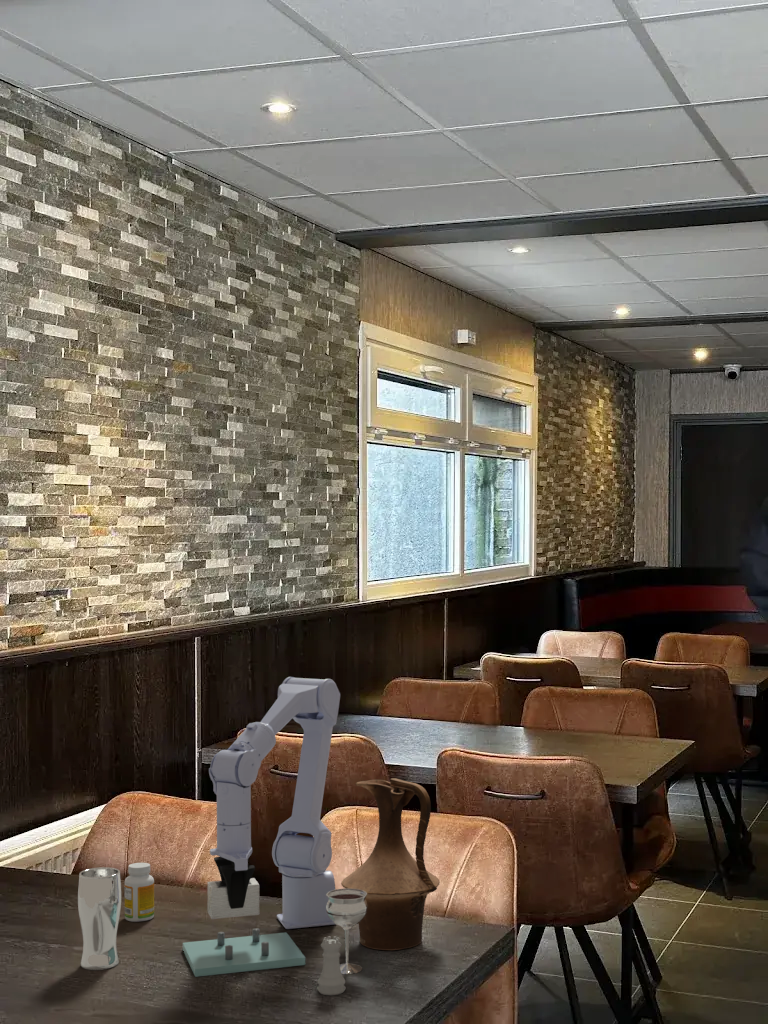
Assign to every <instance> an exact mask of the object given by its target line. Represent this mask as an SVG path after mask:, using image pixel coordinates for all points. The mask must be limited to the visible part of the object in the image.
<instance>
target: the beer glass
mask: <svg viewBox="0 0 768 1024" xmlns="http://www.w3.org/2000/svg"><path fill="white" fill-rule="evenodd" d="M78 877H79V878H78V891H77V906H78V907H77V909H78V916H79V922H80V928H81V934H82V941H83V942H82V943H83V944H82V946H83V947H82V948H83V949H82V955H81V960H80V966H81V968H82V969H84V970H89V971H103V970H109V969H112V968H114V967H116V966H118V965H119V962H120V961H119V955H118V953H119V952H118V949H117V948H118V947H117V934H118V928H119V921H120V918H121V917H120V915H121V908H122V881H121V870H120V869H118V868H115V867H109V866H107V867H106V866H103V867H101V866H100V867H92V868H87V869H84V870H82V871H80V872H79V875H78Z"/></svg>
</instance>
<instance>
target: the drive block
mask: <svg viewBox="0 0 768 1024" xmlns="http://www.w3.org/2000/svg"><path fill="white" fill-rule="evenodd" d="M207 914H208V915H209V917H210V919H211V920H215V919H226V918H227V919H228V918H238V917H249V916H251V917H252V916H258V915H260V884H259V882H258V881H257V880H256V878H255V877H251V879H250V881H249V884H248V888H247V892H246V898H245V902H244V906H243V908H235V909H231V908H230V905H229V900H228V893H227V886H226V882H225V880H224V881H221V880H215V881H213V880H212V881H207Z"/></svg>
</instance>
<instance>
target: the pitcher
mask: <svg viewBox="0 0 768 1024" xmlns="http://www.w3.org/2000/svg"><path fill="white" fill-rule="evenodd" d="M355 786H357V787H361V788H363V789H366V790H367V791H368V792H370V793H371V795H372V796H373V797H374V799H375V802H376V805H377V810H378V820H379V821H378V824H379V825H378V833H377V838H376V842H375V846H374V847H373V850H372V852H370V855H369V856H368V858H367V859H366V860H365V861H364V862H363V863H362V864H361V865H360V866H359V867H358V868H357V869H355V870H354V871H352V873H350V874H349V875H347V876H345V878H343V879H342V880H341V883H340V884H341V886H342V887H343V889H348V888H351V889H359V890H363V891H365V892H367V896H366V898H365V900H366V901H367V905H368V907H367V913H366V916H365V917H364V918H363V919H362V920H361V921H360V922H359V923H358V929H359V942H360V944H361V945H362V946H364V947H366V948H369V949H374V950H382V951H396V950H403V949H408V948H412V947H416V946H418V945H420V944H422V942H423V941H422V940H423V923H424V914H425V913H424V912H425V905H426V899H427V897H428V895H429V894H430V893H434V892H435V891H436V890H438V887H439V885H440V883H441V882H440V879H439V877H437V876H436V875H435V874H432V873H431V872H430V871H428V870H427V869H426V863H425V858H424V852H425V851H424V850H425V849H424V848H425V847H424V846H425V841H426V838H427V831H428V828H429V827H428V826H429V823H430V819H431V811H432V805H431V804H432V803H431V798H430V796H429V793H428V792H427V790H426V788H425V787H423V786H422V785H420V784H418V783H416V782H412V781H411V782H410V781H406V780H402V779H400V778H396V777H395V778H390V781H387V780H384V779H369V780H362V781H361V780H360V781H357V782H356V783H355ZM415 795H416V796H417V797H418V800H419V803H420V813H419V823H418V825H417V834H416V838H415V839H416V840H415V842H416V844H415V858H414V857H413V856H412V855H411V853H410V852H409V850H408V848H407V846H406V844H405V843H406V842H405V841H404V837H403V833H402V830H403V829H402V814H403V808H404V807H405V806H407V805H408V804H409V803H410V801H411V799H412V798H413V797H414V796H415Z"/></svg>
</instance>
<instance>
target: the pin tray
mask: <svg viewBox="0 0 768 1024" xmlns="http://www.w3.org/2000/svg"><path fill="white" fill-rule="evenodd" d="M216 933H217V936H216V939H207V940H196V941H186V942H185V941H184V942H182V951H184V952H183V954H184V956H185V958H186V961H187V962H188V964H189V966H190V969H191V971H192V973H193V975H194V977H195V978H196V977H198V978H199V977H206V976H214V975H215V976H216V975H224V974H234V973H241V972H251V971H253V972H254V971H261V970H269V969H279V968H288V967H297V966H305V965H306V956H305V955H304V953H303V952H302V951H301V949H300V948H299V947H298V946H297V945H296V943H295V941H294V940H293V939H292V938H291V936H290V935H289V934H288V933H287V932H277V933H268V934H265V933H264V934H260V928H257V927H256V928H252V932H251V933H252V934H251V935H248V936H247V935H246V936H236V937H228V938H226V937H225V932H224V931H218V932H216Z"/></svg>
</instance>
